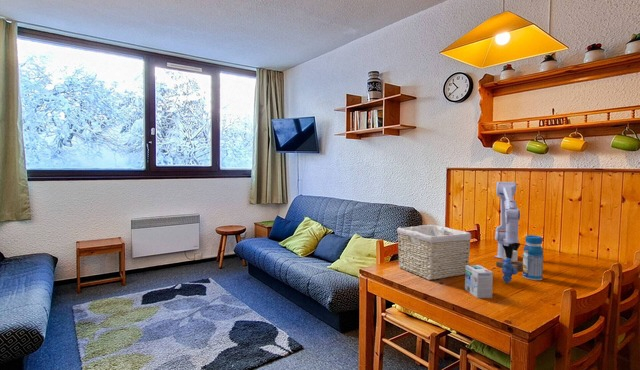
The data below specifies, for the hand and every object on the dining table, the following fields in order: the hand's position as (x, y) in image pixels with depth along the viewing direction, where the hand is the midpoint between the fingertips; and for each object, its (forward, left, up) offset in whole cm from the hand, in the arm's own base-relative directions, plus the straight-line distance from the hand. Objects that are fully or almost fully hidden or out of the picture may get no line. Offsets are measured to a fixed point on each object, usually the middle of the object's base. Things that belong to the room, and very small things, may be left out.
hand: (511, 257), depth 186 cm
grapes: (+26, +13, -5) cm, 30 cm away
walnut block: (0, 0, -6) cm, 6 cm away
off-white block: (0, 0, -2) cm, 2 cm away
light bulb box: (+49, +12, -6) cm, 51 cm away
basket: (+39, -19, -6) cm, 44 cm away
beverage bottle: (+9, +15, -5) cm, 18 cm away
